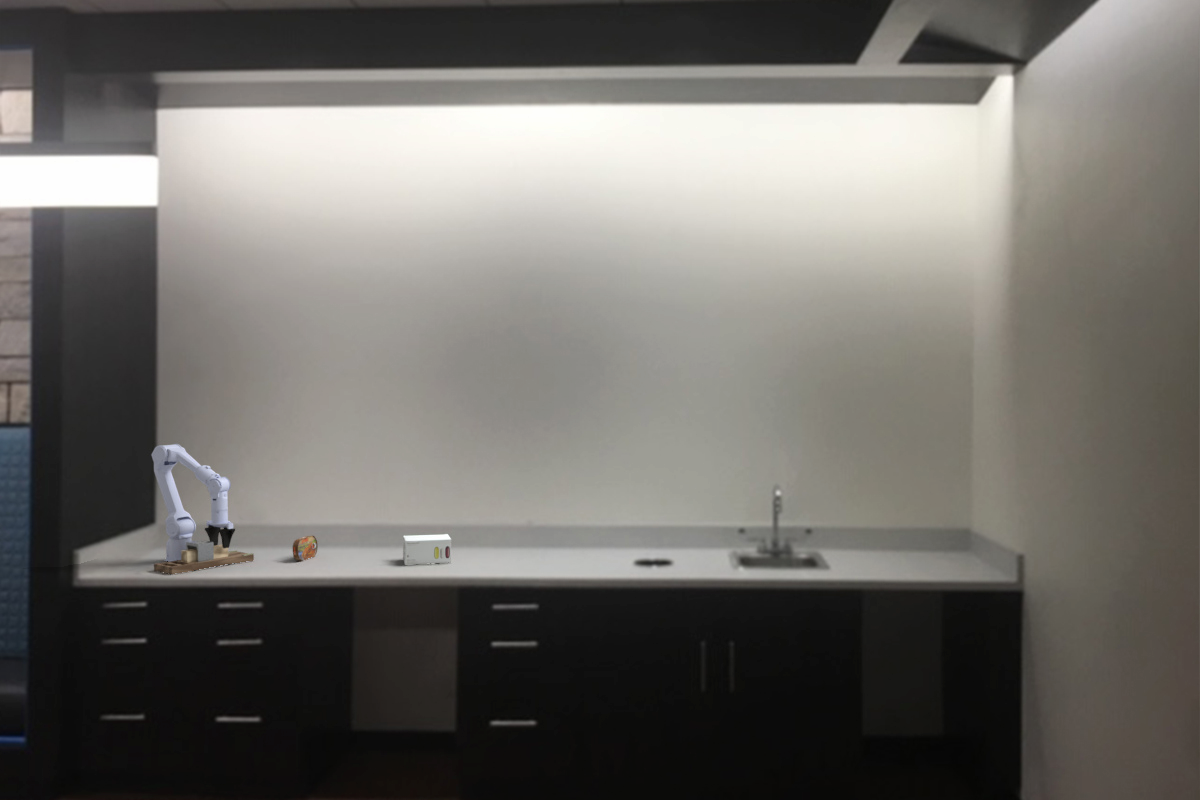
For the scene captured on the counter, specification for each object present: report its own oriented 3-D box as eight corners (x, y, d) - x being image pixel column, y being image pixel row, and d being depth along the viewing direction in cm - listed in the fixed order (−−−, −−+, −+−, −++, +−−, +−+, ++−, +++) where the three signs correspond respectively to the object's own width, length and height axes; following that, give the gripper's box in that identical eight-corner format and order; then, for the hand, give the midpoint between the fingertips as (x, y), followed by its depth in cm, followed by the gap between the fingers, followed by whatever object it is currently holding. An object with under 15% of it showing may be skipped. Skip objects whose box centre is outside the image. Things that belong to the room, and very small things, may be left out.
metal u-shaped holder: (186, 559, 353) (185, 542, 353) (201, 557, 358) (201, 539, 358) (198, 562, 348) (198, 544, 348) (213, 559, 353) (213, 541, 353)
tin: (298, 562, 360) (298, 540, 360) (291, 562, 361) (290, 539, 361) (318, 555, 375) (318, 533, 375) (311, 555, 376) (310, 533, 375)
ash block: (181, 561, 350) (181, 550, 349) (222, 555, 362) (221, 544, 362) (187, 562, 347) (187, 551, 347) (228, 556, 360) (228, 545, 360)
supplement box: (405, 566, 352) (404, 540, 352) (402, 560, 365) (402, 535, 365) (451, 563, 357) (451, 538, 357) (448, 557, 369) (448, 533, 369)
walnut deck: (154, 570, 346) (154, 563, 346) (235, 557, 371) (235, 550, 371) (172, 574, 338) (172, 566, 338) (253, 561, 364) (253, 553, 364)
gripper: (240, 510, 358) (241, 547, 358) (218, 507, 367) (219, 543, 367) (223, 512, 352) (223, 549, 353) (201, 509, 361) (201, 546, 361)
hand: (220, 547), depth 359 cm, fingers open, 7 cm apart
